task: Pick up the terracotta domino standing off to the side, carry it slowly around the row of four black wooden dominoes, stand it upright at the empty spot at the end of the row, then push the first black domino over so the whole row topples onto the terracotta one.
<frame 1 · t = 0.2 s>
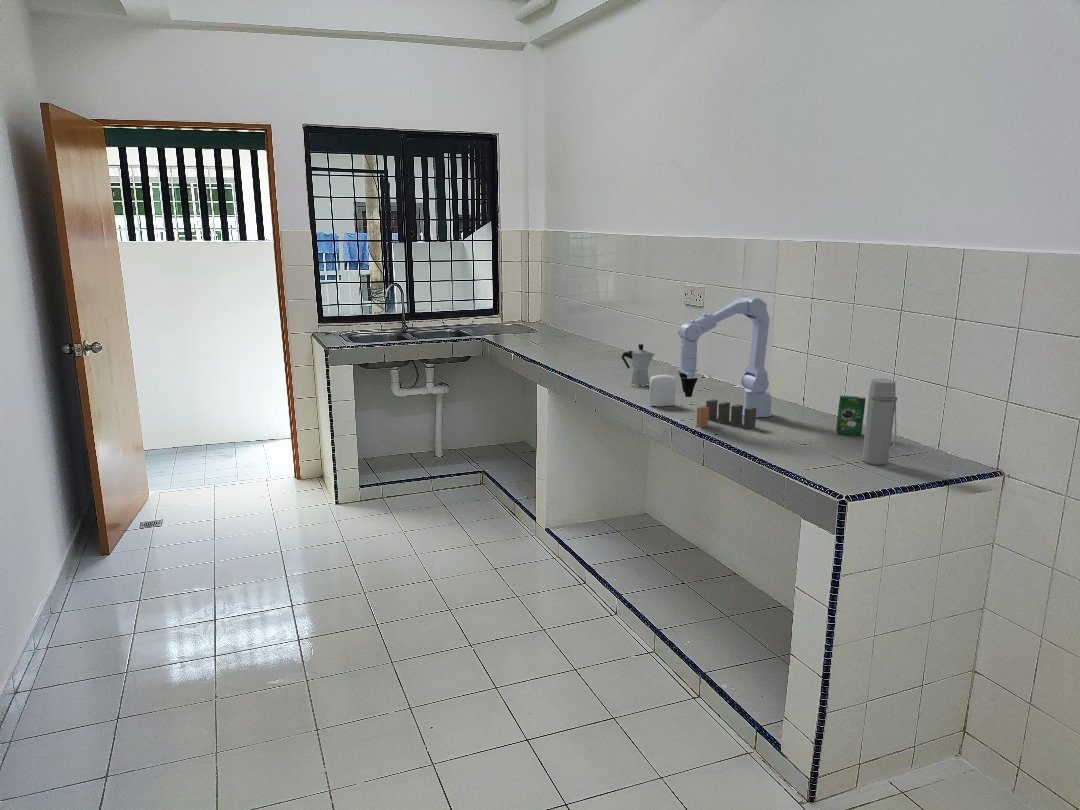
hand: (687, 394, 277), 10 cm above the counter, tool pointing down, fingers open, 7 cm apart
domino 4: (711, 418, 282), on the counter
domino 2: (736, 424, 274), on the counter
coffee box: (848, 434, 260), on the counter
domino 1: (749, 427, 270), on the counter
domino 3: (723, 421, 278), on the counter
coffee maker: (637, 384, 342), on the counter
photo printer: (661, 406, 303), on the counter
terracotta domino: (702, 426, 272), on the counter
water bottle: (878, 462, 230), on the counter
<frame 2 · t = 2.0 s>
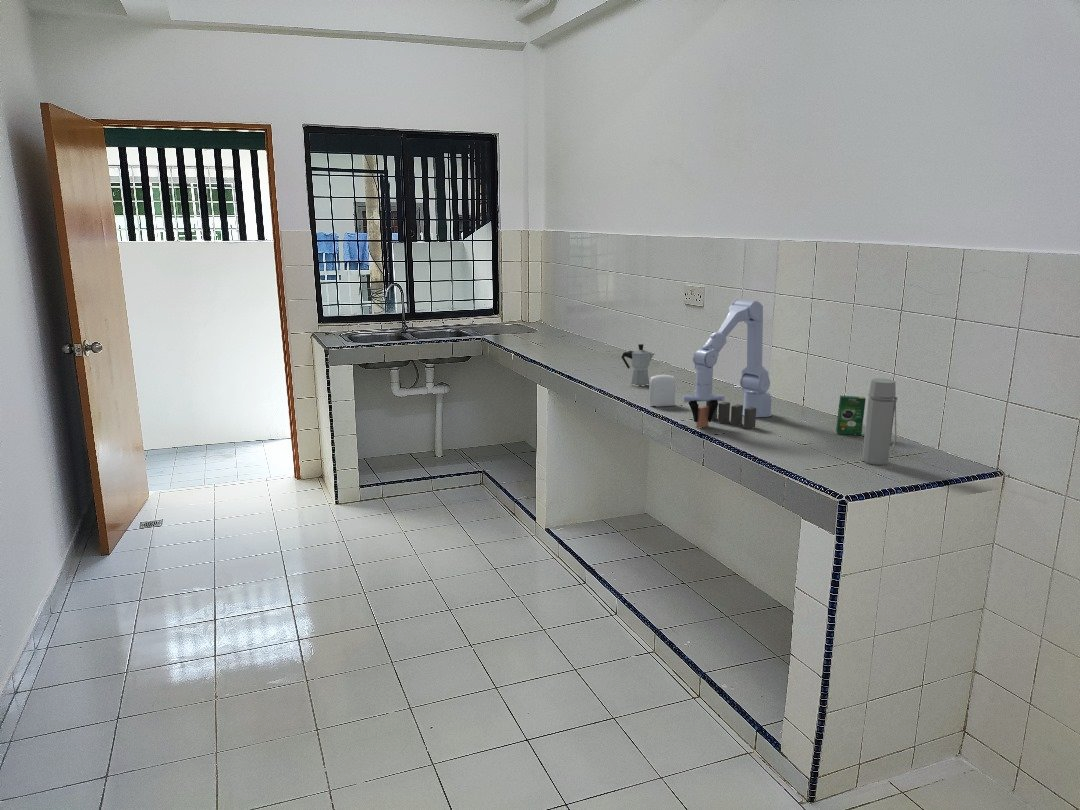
hand: (702, 421, 271), 2 cm above the counter, tool pointing down, fingers closed on terracotta domino, 4 cm apart
terracotta domino: (702, 426, 272), on the counter, touching gripper
everything else where it was.
when the fingers open (3 cm above the counter, at t = 9.5 s): terracotta domino drops 1 cm, on the counter.
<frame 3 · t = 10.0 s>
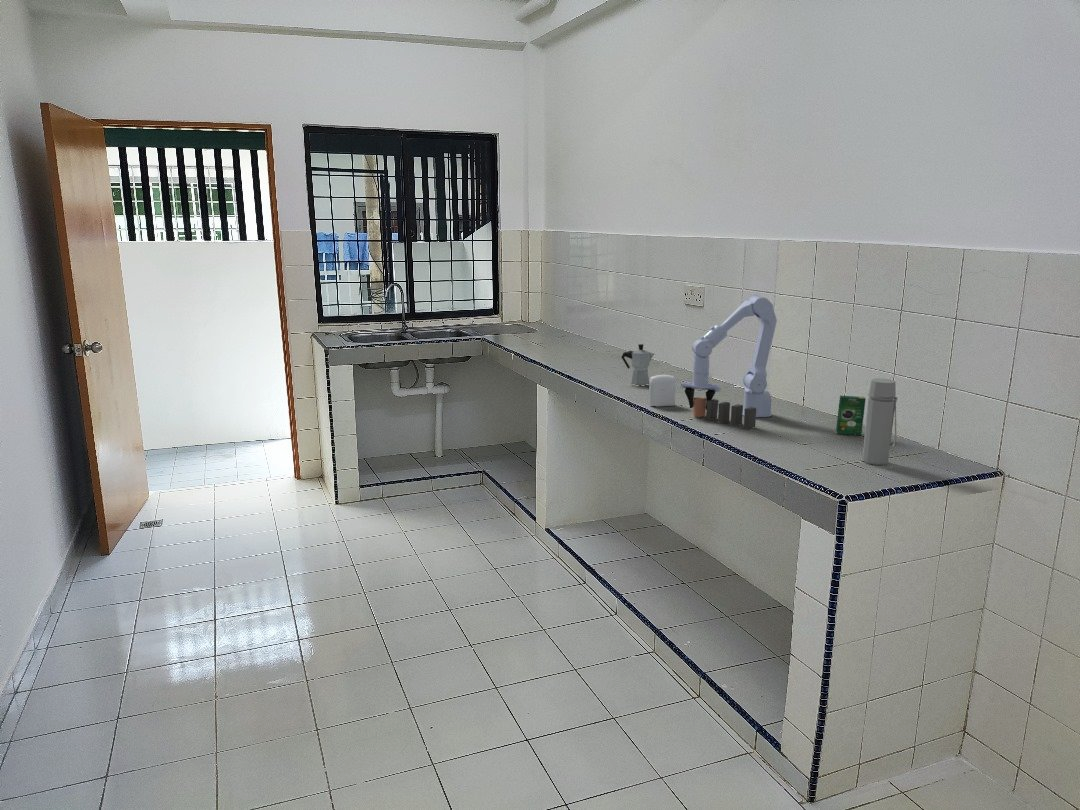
hand: (699, 408, 285), 3 cm above the counter, tool pointing down, fingers open, 5 cm apart
terracotta domino: (699, 416, 286), on the counter
everything else where it was.
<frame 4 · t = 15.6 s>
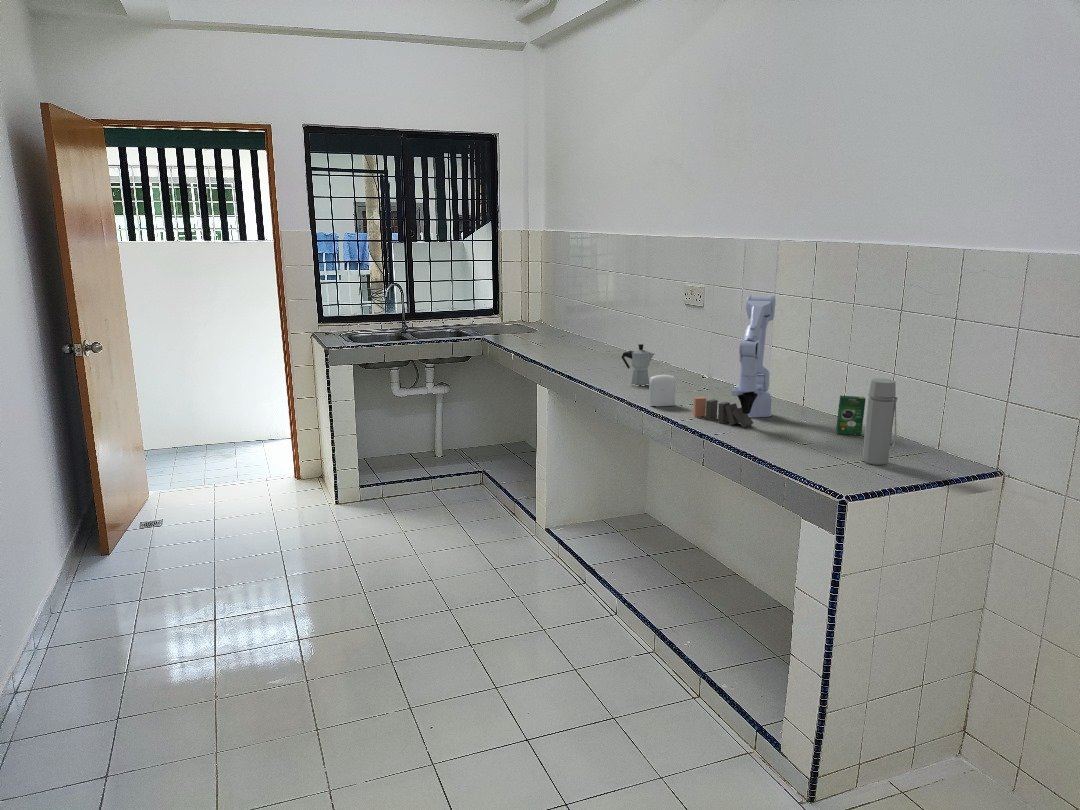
hand: (746, 413, 270), 5 cm above the counter, tool pointing down, fingers closed
domino 2: (736, 423, 274), on the counter, tilted 24°
domino 1: (748, 425, 270), point 1 cm above the counter, tilted 48°
everything else where it was.
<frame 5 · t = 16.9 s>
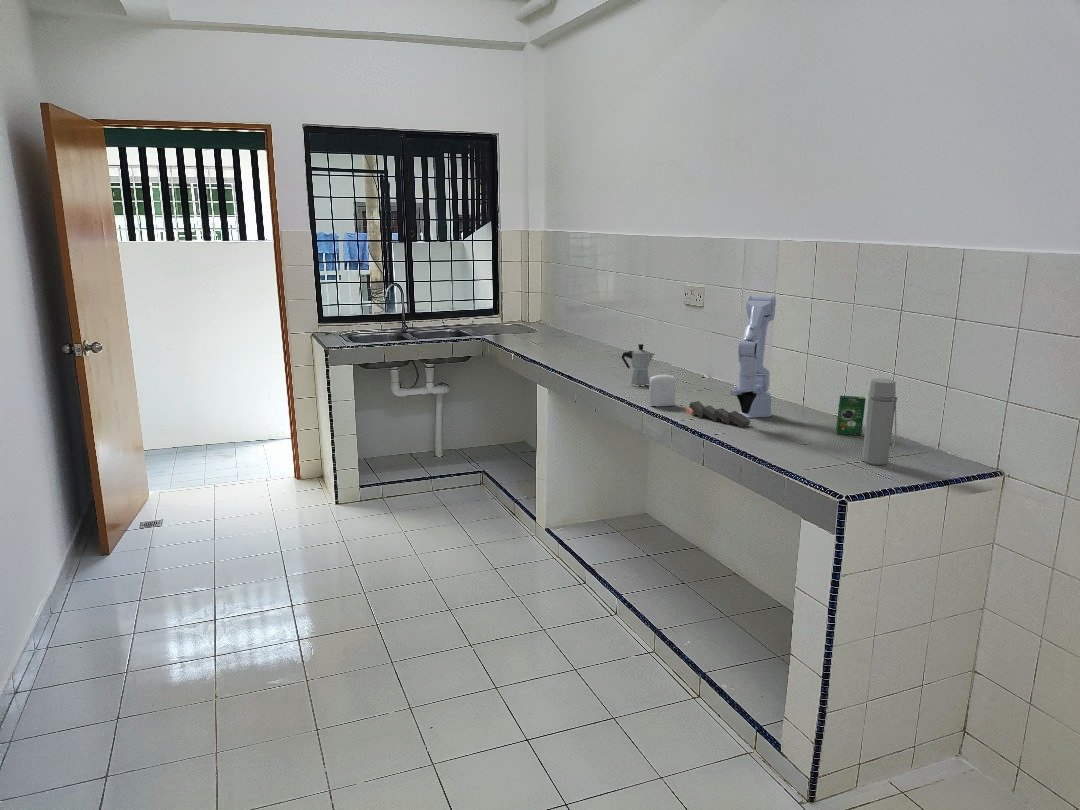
hand: (745, 413, 270), 5 cm above the counter, tool pointing down, fingers closed
domino 4: (705, 415, 284), point 1 cm above the counter, tilted 64°, touching domino 3, terracotta domino
domino 2: (732, 421, 275), point 1 cm above the counter, tilted 69°, touching domino 3
domino 1: (746, 424, 271), point 1 cm above the counter, tilted 69°
domino 3: (719, 418, 279), point 1 cm above the counter, tilted 70°, touching domino 2, domino 4
terracotta domino: (696, 413, 287), point 1 cm above the counter, tilted 90°, touching domino 4
everything else where it was.
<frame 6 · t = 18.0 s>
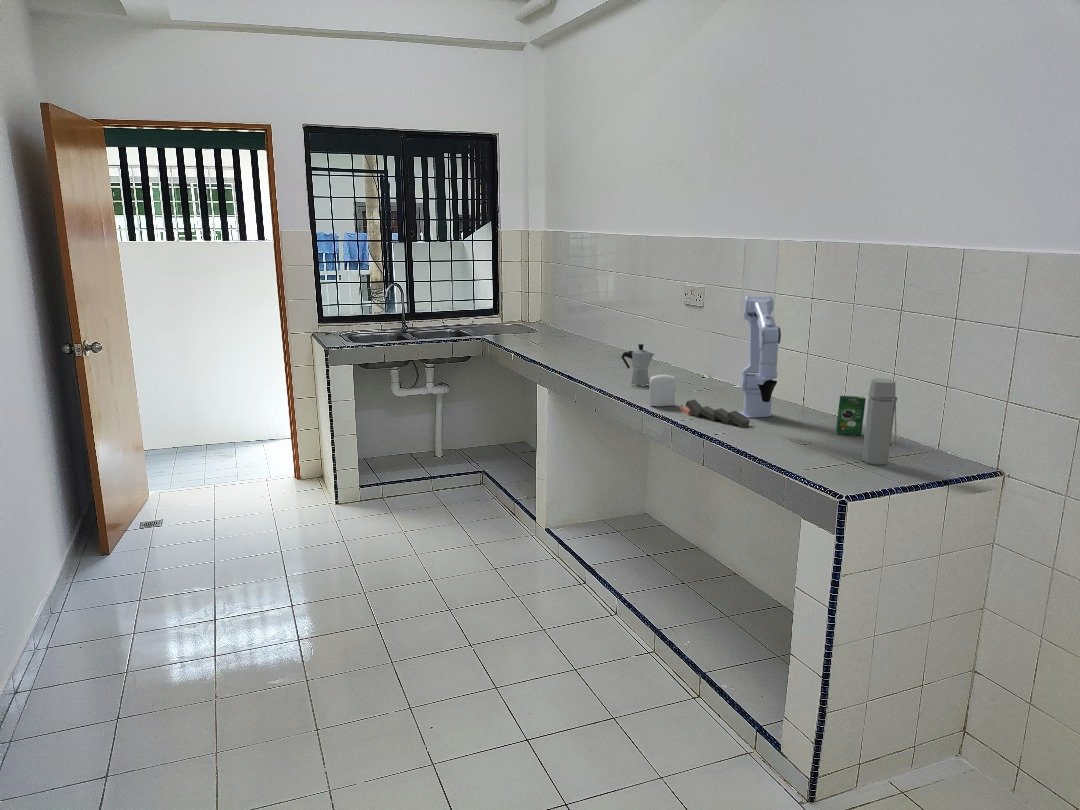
hand: (765, 401, 263), 10 cm above the counter, tool pointing down, fingers closed
domino 4: (701, 414, 285), point 1 cm above the counter, tilted 61°, touching domino 3
domino 2: (731, 420, 275), point 1 cm above the counter, tilted 71°, touching domino 1, domino 3
domino 1: (745, 423, 271), point 1 cm above the counter, tilted 70°, touching domino 2
terracotta domino: (693, 413, 288), point 1 cm above the counter, tilted 90°
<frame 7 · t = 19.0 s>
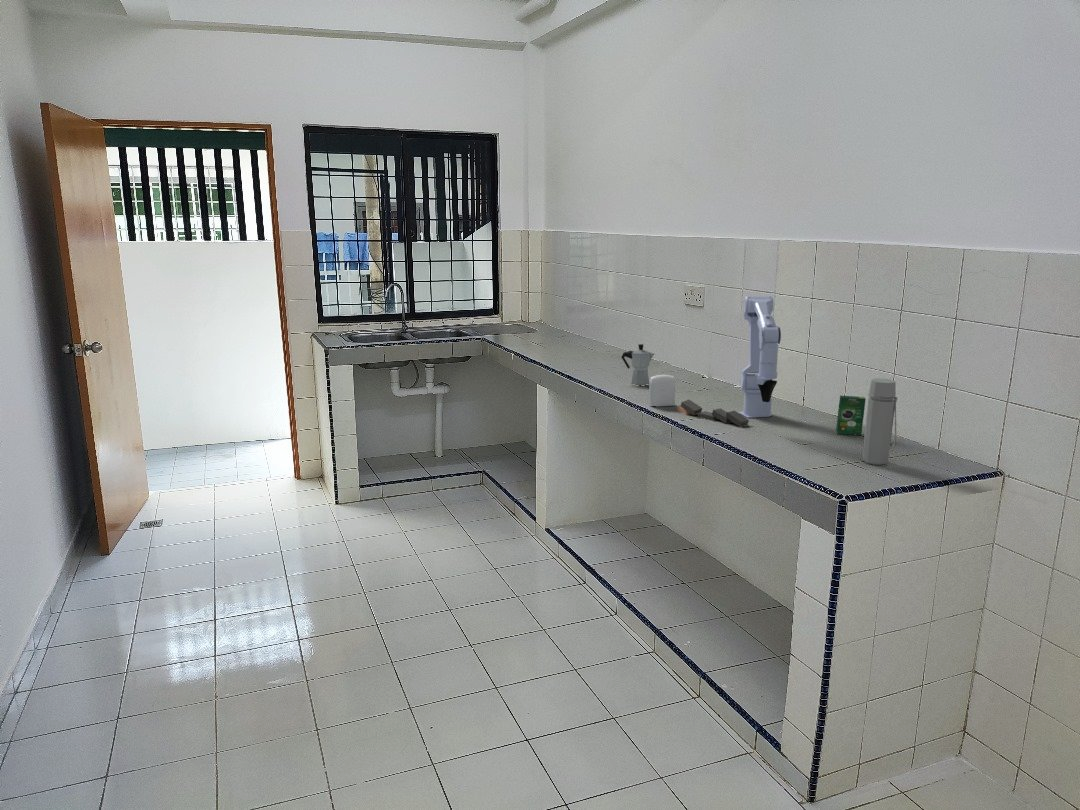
hand: (765, 401, 263), 10 cm above the counter, tool pointing down, fingers closed
domino 4: (698, 411, 286), point 2 cm above the counter, tilted 73°, touching terracotta domino
domino 2: (730, 420, 276), point 1 cm above the counter, tilted 75°
domino 1: (744, 423, 271), point 1 cm above the counter, tilted 71°
domino 3: (716, 418, 280), on the counter, tilted 90°
terracotta domino: (690, 412, 289), on the counter, tilted 90°, touching domino 4
everything else where it was.
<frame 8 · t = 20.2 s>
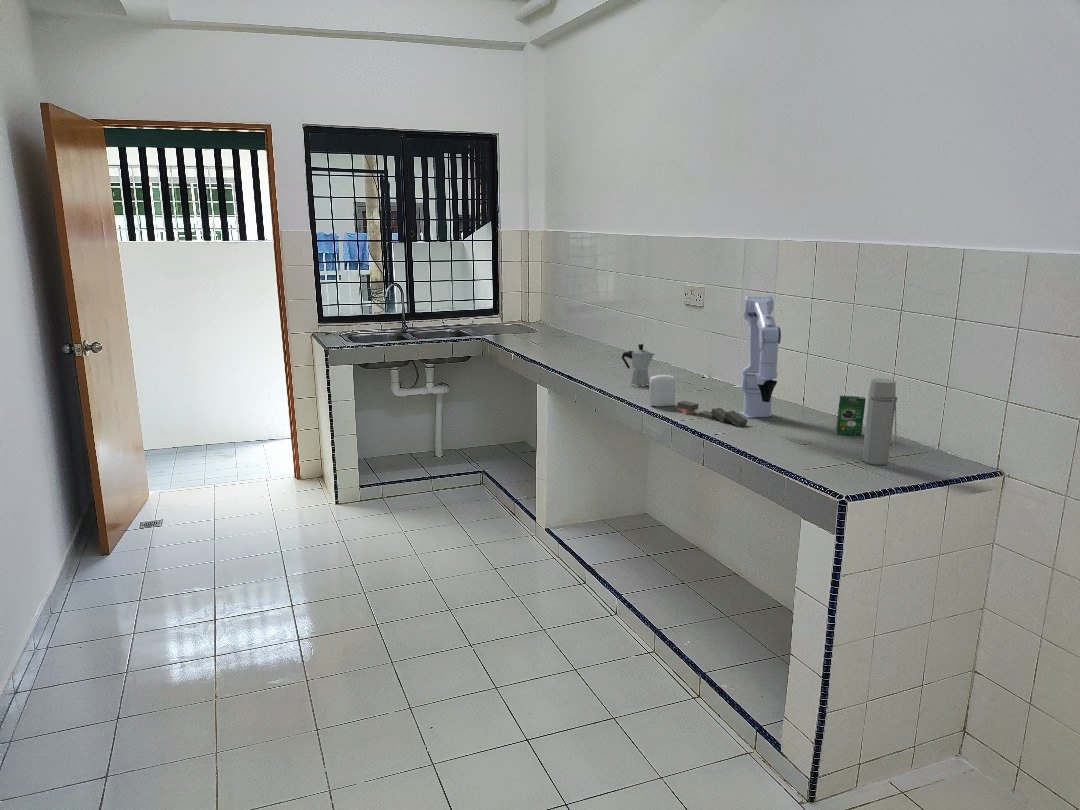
hand: (765, 401, 263), 10 cm above the counter, tool pointing down, fingers closed
domino 4: (694, 407, 288), point 3 cm above the counter, tilted 90°, touching terracotta domino
domino 2: (727, 419, 277), point 1 cm above the counter, tilted 75°, touching domino 1, domino 3
domino 1: (743, 423, 271), point 1 cm above the counter, tilted 72°, touching domino 2
domino 3: (716, 417, 281), on the counter, tilted 90°, touching domino 2
everything else where it was.
at the end: terracotta domino tilted 90°; domino 4 tilted 90°; terracotta domino inside the target area (3.8 cm from its centre), point 0.5 cm above the counter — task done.
